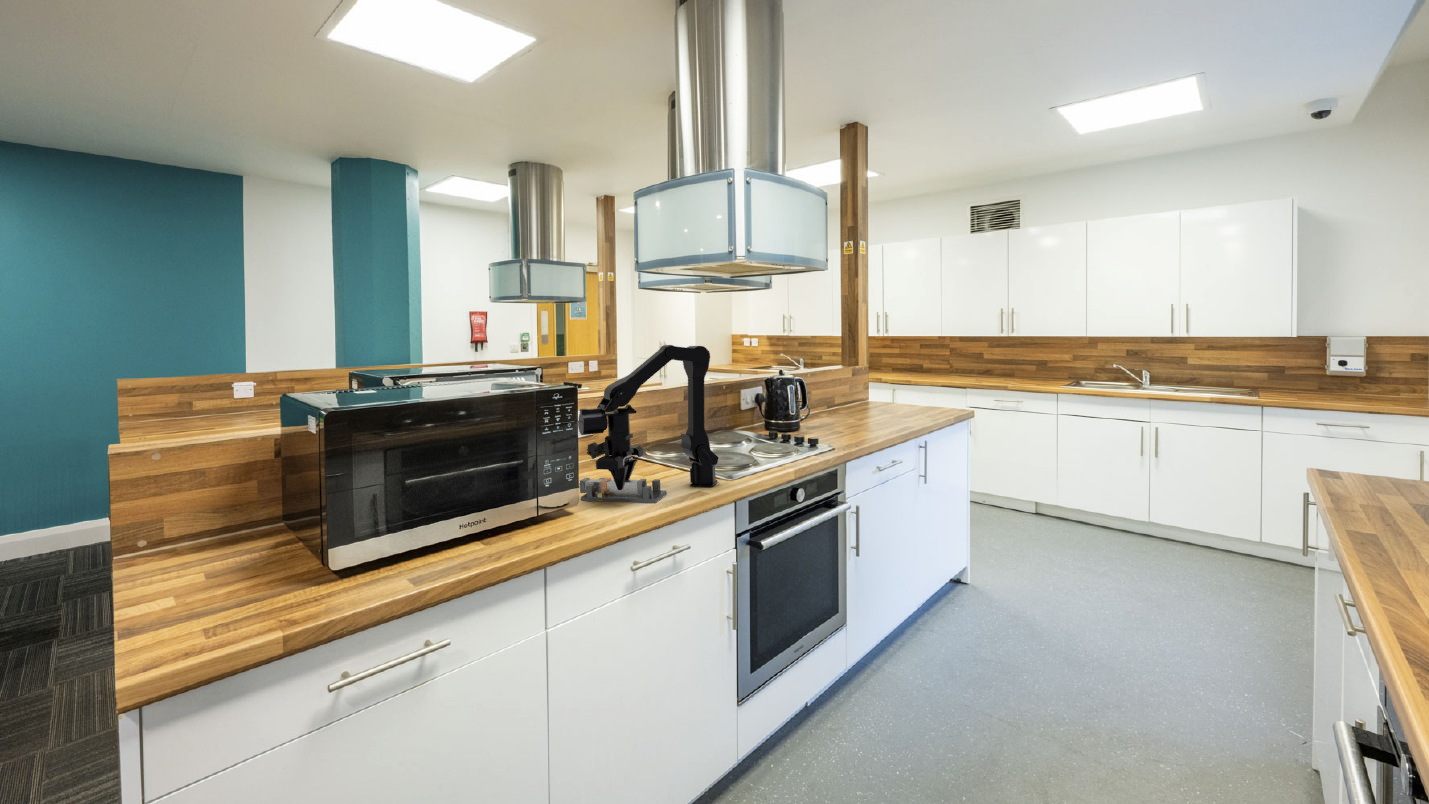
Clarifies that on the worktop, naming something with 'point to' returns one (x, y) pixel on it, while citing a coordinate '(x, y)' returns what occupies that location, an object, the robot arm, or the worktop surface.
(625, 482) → the tube
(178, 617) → the worktop surface
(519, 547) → the worktop surface
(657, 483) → the cradle
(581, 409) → the robot arm
